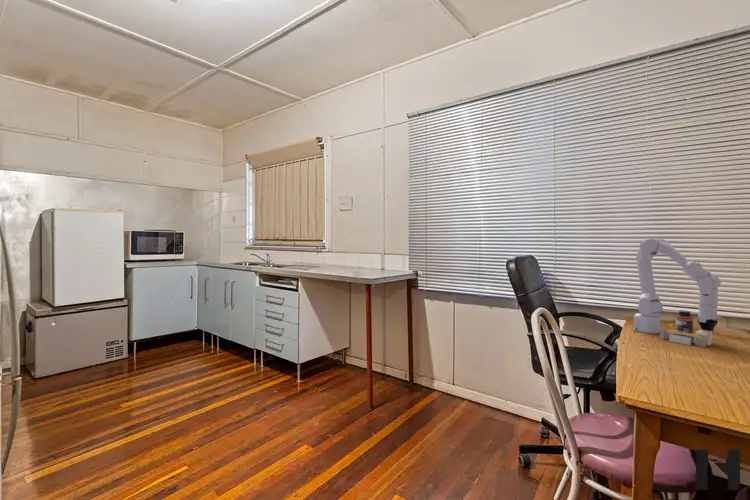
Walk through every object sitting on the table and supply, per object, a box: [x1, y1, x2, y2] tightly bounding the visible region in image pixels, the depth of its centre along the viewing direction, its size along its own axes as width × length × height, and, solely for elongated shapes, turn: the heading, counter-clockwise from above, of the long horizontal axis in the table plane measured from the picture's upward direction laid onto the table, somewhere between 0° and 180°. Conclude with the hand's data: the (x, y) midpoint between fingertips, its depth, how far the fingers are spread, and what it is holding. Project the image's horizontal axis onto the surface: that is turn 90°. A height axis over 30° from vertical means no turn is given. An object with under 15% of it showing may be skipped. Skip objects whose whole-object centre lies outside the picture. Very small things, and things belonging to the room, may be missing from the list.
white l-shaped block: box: [694, 328, 713, 346], centre depth 156 cm, size 4×7×5 cm, turn 125°
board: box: [659, 326, 707, 348], centre depth 160 cm, size 16×22×6 cm
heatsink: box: [668, 333, 697, 346], centre depth 160 cm, size 7×7×3 cm
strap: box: [665, 329, 704, 338], centre depth 160 cm, size 13×2×1 cm, turn 35°
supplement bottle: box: [675, 309, 694, 334], centre depth 175 cm, size 6×6×11 cm
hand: (706, 337), depth 159 cm, fingers closed
